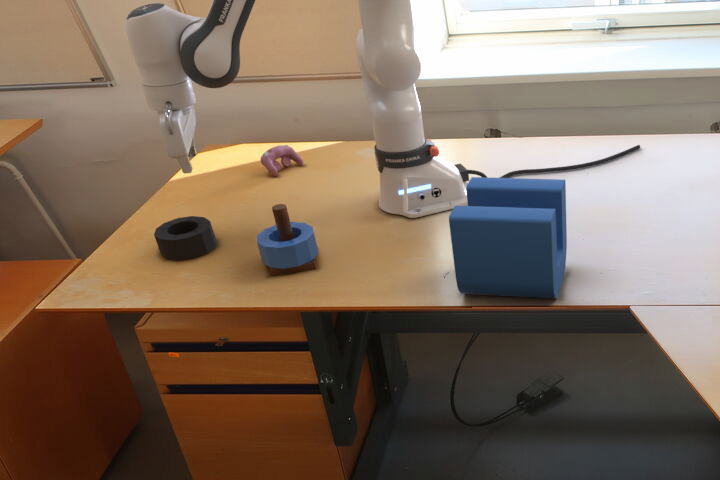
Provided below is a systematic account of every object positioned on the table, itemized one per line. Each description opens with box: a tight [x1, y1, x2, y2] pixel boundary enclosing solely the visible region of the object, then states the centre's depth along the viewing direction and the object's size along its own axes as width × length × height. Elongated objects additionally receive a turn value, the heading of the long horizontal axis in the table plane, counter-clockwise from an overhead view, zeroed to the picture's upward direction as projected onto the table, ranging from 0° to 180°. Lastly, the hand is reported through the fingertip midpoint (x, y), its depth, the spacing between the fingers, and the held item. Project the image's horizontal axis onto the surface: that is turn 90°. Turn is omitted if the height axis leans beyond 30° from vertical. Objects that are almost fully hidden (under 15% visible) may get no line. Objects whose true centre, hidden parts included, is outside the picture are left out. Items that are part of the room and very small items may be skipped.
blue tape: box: [256, 221, 319, 269], centre depth 160 cm, size 11×11×5 cm
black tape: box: [153, 215, 217, 261], centre depth 168 cm, size 11×11×5 cm
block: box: [448, 176, 568, 299], centre depth 146 cm, size 18×18×18 cm
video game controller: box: [260, 144, 304, 177], centre depth 202 cm, size 10×5×7 cm, turn 144°
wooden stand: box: [268, 203, 317, 277], centre depth 158 cm, size 9×9×12 cm
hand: (190, 163), depth 159 cm, fingers open, 8 cm apart
